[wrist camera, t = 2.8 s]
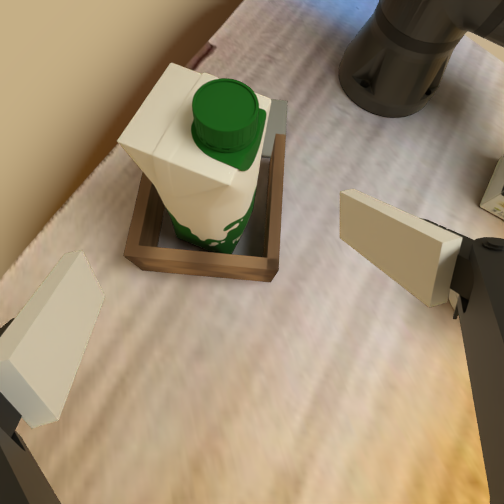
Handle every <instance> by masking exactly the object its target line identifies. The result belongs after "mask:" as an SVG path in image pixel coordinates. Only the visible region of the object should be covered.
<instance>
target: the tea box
mask: <svg viewBox="0 0 504 504" xmlns="http://www.w3.org/2000/svg"><path fill="white" fill-rule="evenodd" d="M480 207H481V208H483V209H485V210H487V211H489V212H491V213H492V214H494V215H496V216H498V217H500V218H501V219H503V220H504V156H502V157H501V158H500V159H499V161H498V163H497V165H496V168H495V170H494V172H493V175H492V177H491V179H490V182H489V184H488V186H487V189H486V191H485V193H484V196H483V198H482V201H481V203H480Z"/></svg>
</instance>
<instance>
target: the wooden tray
mask: <svg viewBox="0 0 504 504" xmlns="http://www.w3.org/2000/svg"><path fill="white" fill-rule="evenodd" d="M285 139H286V135H284V134H275V139H274V144H273V149H272V154H271V159H270V163H269V176H268V190H267V204H266V218H265V232H264V246H263V257H253V256H243V255H233V254H222V253H212V252H202V251H191V250H181V249H170V248H160V247H157V245H158V239H159V234H160V229H161V224H162V219H163V214H164V209H165V205H164V203H163V201H162V199H161V197H160V195H159V193H158V191H157V189H156V187H155V186H154V184H153V183H152V182H151V181H150V180H149V178H148V177H147V176H146V175H145V174H144V172H143V173H142V177H141V182H140V186H139V190H138V195H137V199H136V203H135V208H134V212H133V216H132V221H131V225H130V229H129V234H128V238H127V242H126V247H125V251H124V255H123V256H124V257H126V258H127V259H128V260H130V261H131V262H132V263H133V264H135V265H136V266H137V267H139V268H140V269H141V270H145V271H156V272H167V273H177V274H188V275H199V276H210V277H220V278H231V279H242V280H252V281H263V282H271V281H272V280H273V278H274V276H275V275H276V273H277V272H278V270H279V251H280V232H281V214H282V195H283V176H284V157H285Z"/></svg>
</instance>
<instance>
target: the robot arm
mask: <svg viewBox="0 0 504 504" xmlns="http://www.w3.org/2000/svg"><path fill="white" fill-rule="evenodd" d="M467 31H469V32H472V33H474V34H476V35H478V36H481V37H483V38H485V39H487V40H489V41H491V42H493V43H495V44H497V45H500V46H502V47H504V0H379V3H378V5H377V7H376V9H375V12H374V13H373V15H372V16H371V17H370V18H369V20H368V21H367V22H366V24H365V25H364V26H363V27H362V29H361V30H360V31H359V32H358V34H357V35H356V36H355V38H354V39H353V40H352V41H351V43H350V44H349V45H348V47H347V49H346V51H345V53H344V55H343V58H342V61H341V63H340V66H339V79H340V83H341V85H342V88H343V89H344V91H345V93H346V94H347V95H348V96H349V97H350V99H351V100H353V101H354V102H355V103H356V104H357V105H359V106H360V107H362V108H363V109H365V110H367V111H369V112H372V113H374V114H377V115H381V116H386V117H404V116H408V115H411V114H414V113H416V112H418V111H419V110H421V109H422V108H423V107H424V106H425V105H426V104H427V102H428V101H429V100H430V99H431V98H432V96H433V95H434V94H435V92H436V90H437V89H438V87H439V84H440V82H441V79H442V77H443V74H444V72H445V69H446V67H447V64H448V62H449V59H450V57H451V55H452V52H453V50H454V48H455V47H456V45H457V44H458V42H459V41H460V40H461V38H462V37H463V36H464V34H465V33H466V32H467ZM340 238H341V239H342V240H343V241H344V242H346V243H347V244H348V245H350V246H351V247H352V248H353V249H355V250H356V251H357V252H359V253H360V254H361V255H362V256H364V257H365V258H366V259H368V260H369V261H370V262H371V263H373V264H374V265H375V266H376V267H378V268H379V269H380V270H382V271H383V272H384V273H385V274H387V275H388V276H389V277H391V278H392V279H393V280H394V281H396V282H397V283H398V284H400V285H401V286H402V287H403V288H405V289H406V290H407V291H409V292H410V293H411V294H412V295H414V296H415V297H416V298H417V299H419V300H420V301H421V302H423V303H424V304H425V305H426V306H428V307H429V308H430V307H434V306H437V305H440V304H443V303H447V300H448V296H449V292H450V289H452V290H453V291H455V292H456V293H458V294H459V296H458V300H457V304H456V308H455V312H454V315H453V319H457V316H458V315H459V318H460V324H461V330H462V336H463V342H464V347H465V353H466V359H467V365H468V371H469V376H470V382H471V388H472V394H473V400H474V405H475V411H476V417H477V423H478V429H479V435H480V440H481V446H482V452H483V458H484V464H485V469H486V475H487V481H488V487H489V494H490V504H504V239H501V238H493V237H483V238H478V239H476V240H473V239H470V238H468V237H466V236H463V235H461V234H459V233H457V232H454V231H452V230H450V229H446V228H445V227H443V226H441V225H439V226H438V224H436V223H434V222H431V221H429V220H426V219H421V218H418V217H416V216H413V215H411V214H409V213H407V212H404V211H402V210H400V209H398V208H395V207H393V206H391V205H389V204H386V203H384V202H382V201H380V200H377V199H375V198H373V197H371V196H368V195H366V194H364V193H362V192H359V191H357V190H355V189H349V190H345V191H340ZM104 299H105V295H104V293H103V291H102V289H101V287H100V285H99V283H98V281H97V279H96V277H95V275H94V273H93V271H92V269H91V267H90V265H89V263H88V261H87V259H86V257H85V255H84V253H83V251H82V250H79V251H75V252H70V253H66V254H64V255H63V257H62V258H61V259H60V261H59V262H58V263H57V264H56V266H55V267H54V268H53V270H52V271H51V272H50V273H49V275H48V276H47V277H46V279H45V280H44V281H43V283H42V284H41V285H40V286H39V288H38V289H37V290H36V292H35V293H34V294H33V296H32V297H31V298H30V299H29V301H28V302H27V303H26V305H25V306H24V307H23V308H22V310H21V311H20V312H19V314H18V315H17V316H16V318H13V319H11V320H10V321H9V322H8V323H6V324H5V325H4V326H3V327H1V328H0V504H61V503H60V501H59V499H58V498H57V496H56V494H55V493H54V491H53V489H52V488H51V486H50V484H49V483H48V481H47V479H46V478H45V476H44V474H43V473H42V471H41V469H40V468H39V466H38V464H37V463H36V461H35V459H34V457H33V456H32V454H31V452H30V451H29V449H28V447H27V446H26V444H25V442H24V441H23V439H22V437H21V436H20V435H19V434H18V433H17V432H16V431H15V429H16V427H17V425H18V423H19V421H20V419H21V417H22V418H23V419H24V421H25V422H26V423H27V424H28V425H29V426H30V427H31V428H36V427H39V426H42V425H46V424H49V423H52V422H55V421H59V418H60V415H61V413H62V410H63V407H64V405H65V402H66V399H67V397H68V394H69V391H70V389H71V386H72V383H73V381H74V378H75V376H76V373H77V370H78V368H79V365H80V362H81V360H82V357H83V354H84V352H85V349H86V346H87V344H88V341H89V338H90V336H91V333H92V330H93V328H94V325H95V323H96V320H97V317H98V315H99V312H100V309H101V307H102V304H103V301H104Z"/></svg>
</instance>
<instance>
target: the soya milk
mask: <svg viewBox="0 0 504 504" xmlns="http://www.w3.org/2000/svg"><path fill="white" fill-rule="evenodd" d="M270 106H271V99H270V98H267V97H265V96H262V95H260V94H257V93H255V92H254V91H253V90H252V89H251V88H250V87H249V86H247V85H246V84H244V83H242V82H240V81H237V80H234V79H227V78H222V79H219V78H217V77H216V76H213V75H211V74H208V73H204V72H203V73H202V74H201V73H198V72H195V71H193V70H190V69H187V68H185V67H182V66H179V65H177V64H173V63H170V64H169V66H168V68H167V69H166V70H165V72H164V73H163V75H162V76H161V78H160V79H159V80H158V82H157V84H156V85H155V86H154V88H153V89H152V91H151V92H150V94H149V95H148V97H147V98H146V100H145V101H144V102H143V104H142V105H141V107H140V108H139V110H138V111H137V113H136V114H135V115H134V117H133V118H132V120H131V121H130V123H129V124H128V126H127V127H126V129H125V130H124V131H123V133H122V135H121V136H120V137H119V139H118V140H117V142H118V143H119V144H120V145H121V146H122V147H123V149H124V150H125V151H126V152H127V153H128V155H129V156H130V157H131V158H132V159H133V160H134V162H135V163H136V164H137V165H138V166H139V168H140V169H141V170H142V171H143V172H144V174H145V175H146V176H147V177H148V178H149V180H150V181H151V182H152V183H153V184H154V186H155V187H156V189H157V191H158V193H159V195H160V197H161V199H162V201H163V203H164V205H165V207H166V209H167V211H168V213H169V215H170V217H171V220H172V223H173V227H174V230H175V233H176V237H177V238H180V239H182V240H184V241H187V242H189V243H192V244H194V245H197V246H199V247H202V248H204V249H206V250H209V251H211V252H214V253H222V254H232V252H233V250H234V249H235V247H236V245H237V243H238V241H239V239H240V237H241V235H242V233H243V231H244V229H245V227H246V225H247V223H248V220H249V218H250V216H251V213H252V211H253V206H254V200H255V193H256V187H257V180H258V174H259V167H260V160H261V154H262V149H263V143H264V138H265V133H266V127H267V122H268V116H269V111H270Z"/></svg>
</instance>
